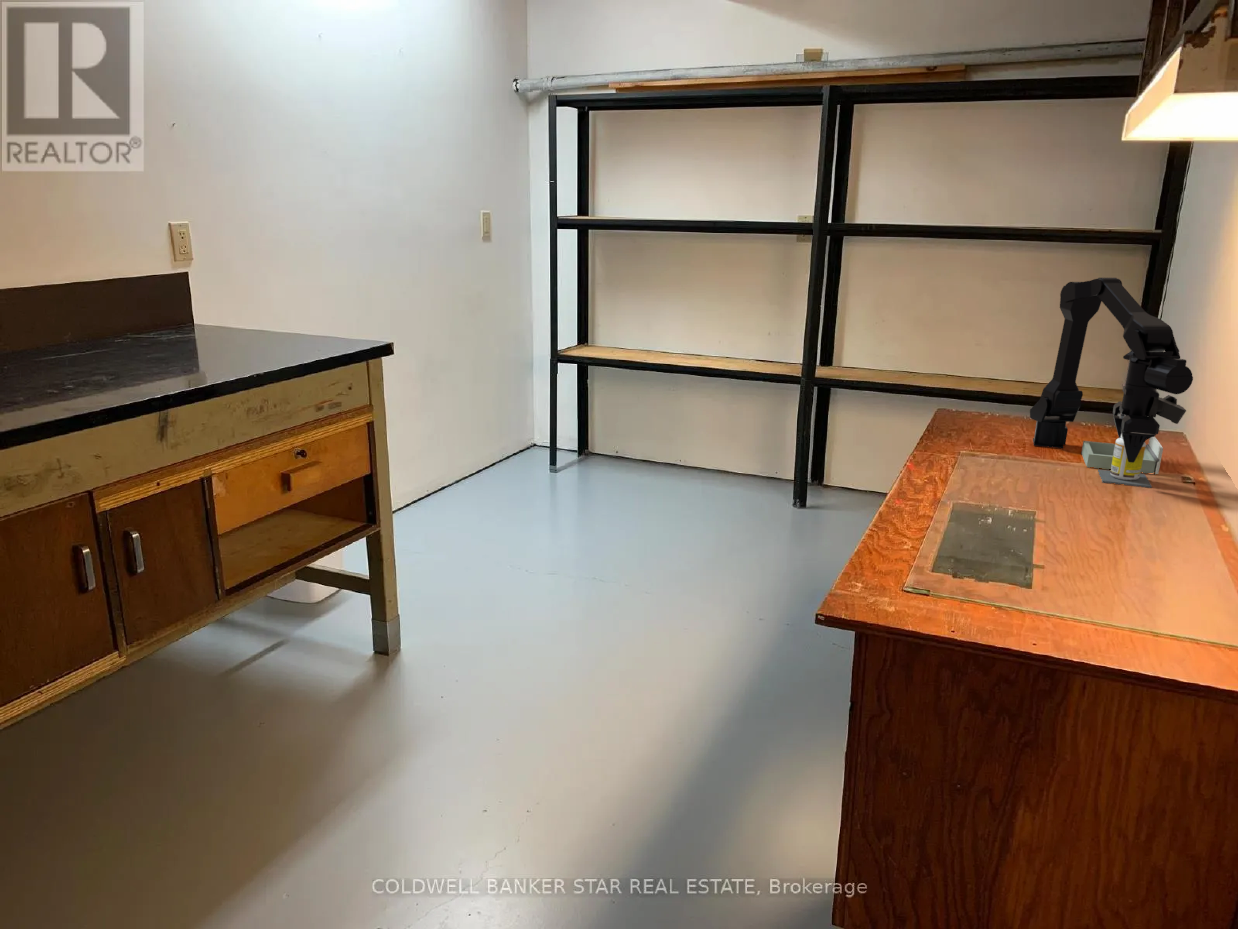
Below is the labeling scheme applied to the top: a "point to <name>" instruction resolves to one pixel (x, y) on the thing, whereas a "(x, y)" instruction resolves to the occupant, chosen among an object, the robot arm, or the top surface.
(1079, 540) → the top surface
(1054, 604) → the top surface
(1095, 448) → the drawer
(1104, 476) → the mat
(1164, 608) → the top surface
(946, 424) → the top surface
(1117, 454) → the supplement bottle
